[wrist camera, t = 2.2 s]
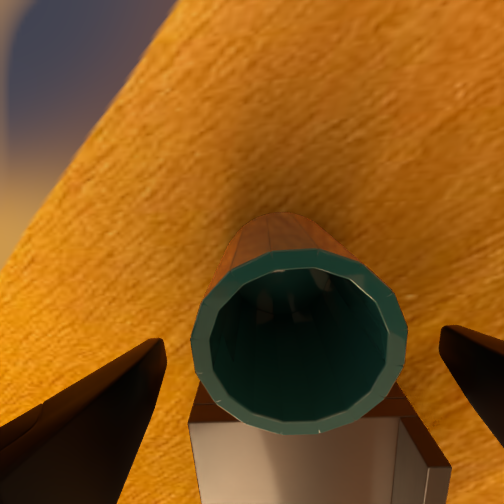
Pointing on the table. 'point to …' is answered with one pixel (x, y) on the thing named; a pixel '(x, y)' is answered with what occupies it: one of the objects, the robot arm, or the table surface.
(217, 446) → the desk shelf
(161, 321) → the table surface
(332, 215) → the table surface
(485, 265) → the table surface
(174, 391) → the table surface
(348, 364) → the glazed pot
